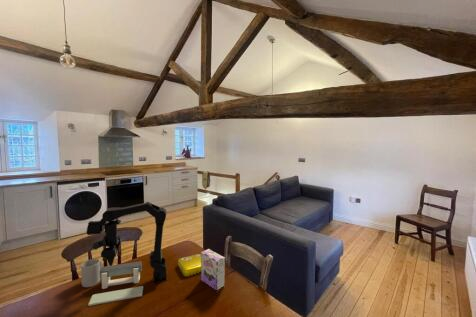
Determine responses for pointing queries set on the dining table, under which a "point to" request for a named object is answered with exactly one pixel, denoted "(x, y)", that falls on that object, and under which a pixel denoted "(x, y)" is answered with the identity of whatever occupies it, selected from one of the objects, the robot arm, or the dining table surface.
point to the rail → (120, 269)
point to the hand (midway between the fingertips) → (112, 261)
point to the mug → (90, 272)
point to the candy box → (212, 269)
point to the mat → (116, 295)
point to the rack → (108, 282)
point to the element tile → (190, 264)
